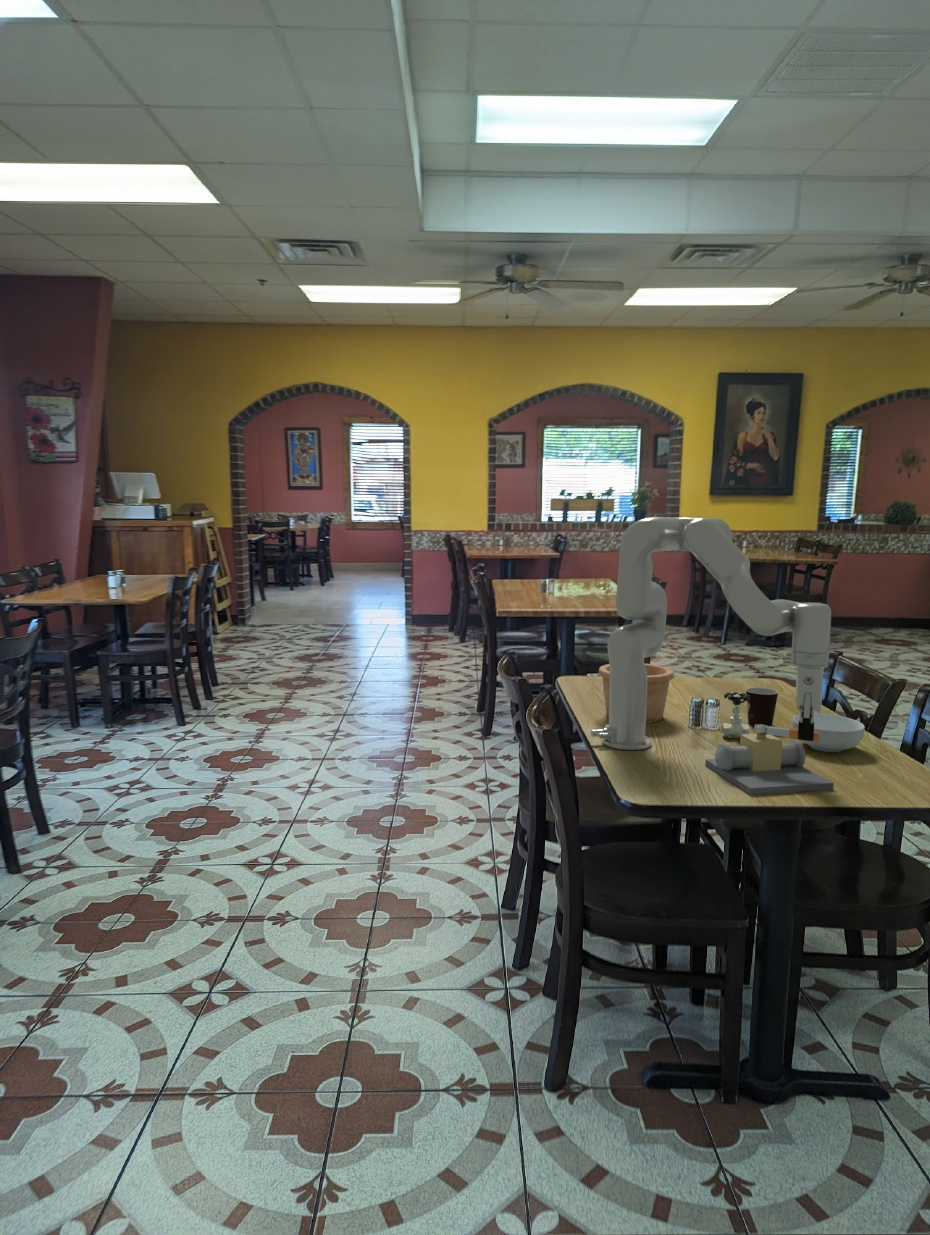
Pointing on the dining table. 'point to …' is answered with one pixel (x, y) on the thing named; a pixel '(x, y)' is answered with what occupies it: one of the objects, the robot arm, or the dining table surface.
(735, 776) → the valve board
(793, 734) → the valve lever
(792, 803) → the dining table surface
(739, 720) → the valve
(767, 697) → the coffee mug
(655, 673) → the pottery
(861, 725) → the cereal bowl
